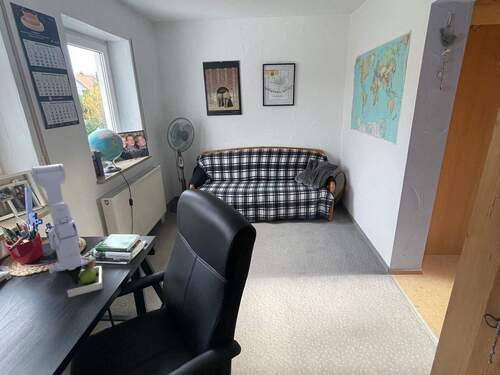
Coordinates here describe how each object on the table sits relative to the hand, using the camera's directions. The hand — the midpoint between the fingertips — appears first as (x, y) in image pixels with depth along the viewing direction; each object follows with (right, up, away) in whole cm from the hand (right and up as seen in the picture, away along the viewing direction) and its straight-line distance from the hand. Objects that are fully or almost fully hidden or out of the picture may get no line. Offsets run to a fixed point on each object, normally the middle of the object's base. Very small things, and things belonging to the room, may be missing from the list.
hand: (77, 282), depth 103 cm
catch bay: (+2, -1, +1) cm, 3 cm away
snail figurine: (+4, 0, +2) cm, 4 cm away
